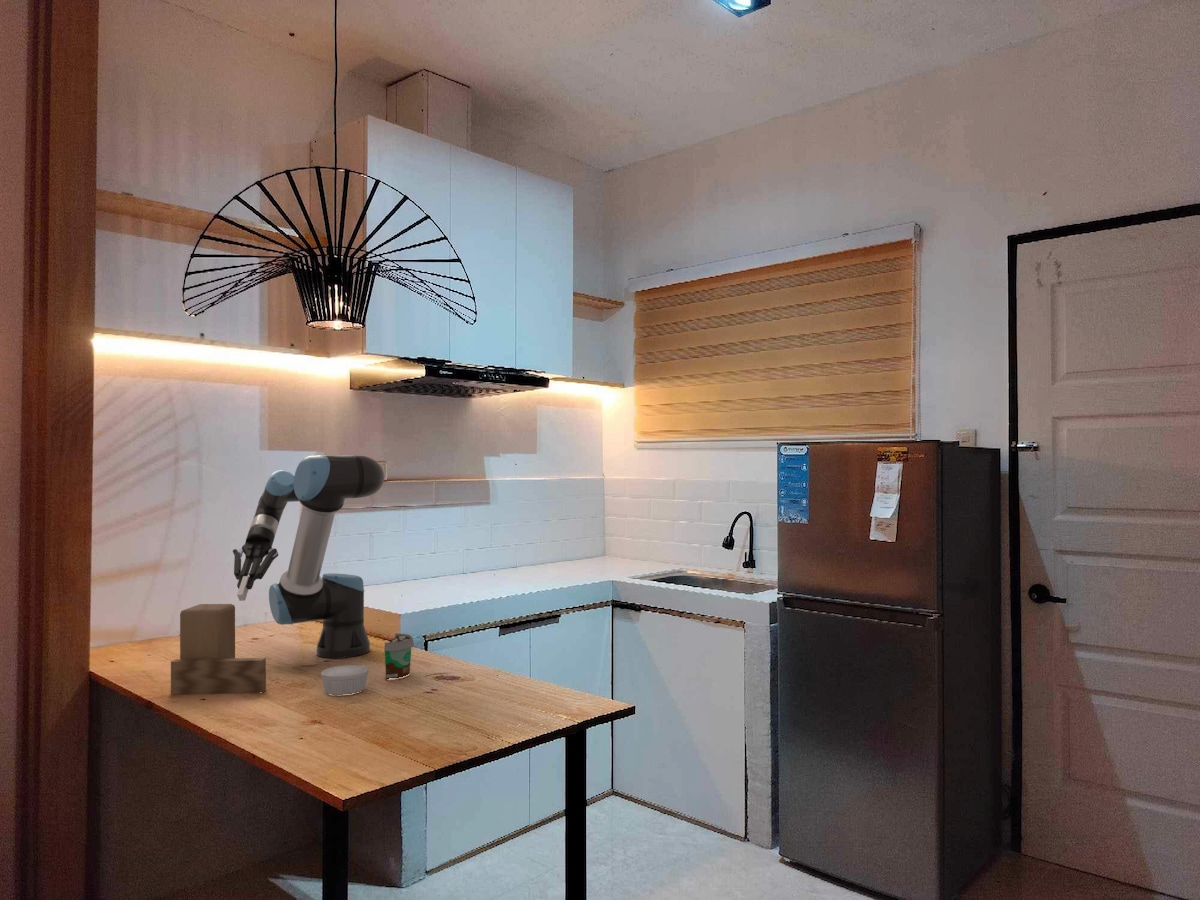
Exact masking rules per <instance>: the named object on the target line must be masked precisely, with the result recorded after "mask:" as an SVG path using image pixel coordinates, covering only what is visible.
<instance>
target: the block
mask: <svg viewBox="0 0 1200 900" xmlns="http://www.w3.org/2000/svg"><path fill="white" fill-rule="evenodd" d="M179 652H180V653H179V659H226V658H236V607H235V605H234V604H232V603H200V604H197V605H194V606H191V607H187V608H186V609H183V610H181V611H180V614H179Z"/></svg>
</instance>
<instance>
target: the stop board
mask: <svg viewBox="0 0 1200 900" xmlns="http://www.w3.org/2000/svg"><path fill="white" fill-rule="evenodd" d="M265 690H267V657H244V658H243V657H241V658H240V657H237V658H236V657H235V658H226V659H180V658H177V659H174V660H172V661H170V695H171V694H178V695H218V694H219V695H220V694H221V695H222V694H223V695H224V694H225V695H226V694H227V695H228V694H229V695H230V694H231V695H232V694H237V695H238V693H239V694H261V693H260V692H263V691H264V692H266V691H265ZM264 692H263V693H264Z"/></svg>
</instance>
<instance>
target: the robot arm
mask: <svg viewBox="0 0 1200 900" xmlns="http://www.w3.org/2000/svg"><path fill="white" fill-rule="evenodd" d="M384 482H385V472H384V470H383V468H382V466H381V465H380V464H379V462H377V461H376V460H375V459H373V458H372V457H370V456H367V455H360V454H358V455H357V454H354V455H347V454H346V455H325V454H318V455H309V456H306V457H304V458H302V459H301V460H300V462H298V463H297V467H296V470H295V472H294V474H293V473H292V472H290V471H286V470H283V469H279V470H275V471H274V472H273V473H271V474H270V476H269V478H268V480H267V481H266V484H265V487H264V490H263V492H262V494H261V496H260V498H259V500H258V504H257V506H256V509H255V513H254V516H253V519H252V521H251V525H250V526H249V530H248V533H247V536H246V538H245V542H244V544H243V545H242V546H241V548H239V549H237V548H236V549H235V548H234V549H233V550H232V553H233V555H234V562H233V565H234V566H233V575H234V577H235V579H236V580H237V584H236V587H237V588H238V590H237V594H236V597H237V599H238V601H240V602H241V601H243V602H245V601H246V598H247V596H248V593H249V590H252V589H253V587H254V582H256V580H262V579H264V576H265V575H266V573H267V571H268V570H269V568H270V567H271V566H272V565H271V564H273V562H274V560H275V559H276V558H277V557H279V552H278V549H277V548H273V543H274V541H275V538H276V536H277V535H276V534H277V531H278V529H279V525H280V521H281V518H282V516H283V513H284V510H285V509H286V507H287V505H288V503H290V502H291V503H293V502H299V504H301V506H302V508H301V513H300V515H299V516H300V517H299V522H298V525H297V529H296V534H295V537H294V538H295V539H294V543H293V547H292V552H291V557H290V560H289V564H288V569H287V570H286V571H284V572H283V573H282V574H281V576H280V579H279V583H273V584H271V585H270V587H269V589H268V602H269V607H270V613H271V615H272V618H273V620H274V622H275V623H277V624H278V625H281V626H282V625H284V626H285V625H293V624H300V623H309V622H314V621H317V622H318V621H322V629H321V632H320V635H319V638H318V642H317V644H316V656H318V657H320V658H329V659H343V658H342V657H345V658H352V657H351V656H353V657H357V656H356V655H359V656H362V655H361V654H363V655H365V654H364V653H366V654H368V653H369V652H370V651H371V643H370V639H369V636H368V633H367V631H366V628H365V619H364V618H365V617H364V615H365V613H364V612H365V589H364V579H363V578H362V577H361V576H359V575H355V574H347V573H332V572H330V573H323V574H322V577H321V576H320V574H321V571H322V567H323V565H324V564H323V562H324V560H325V554H326V551H327V547H328V544H329V538H330V536H331V532H332V531H331V530H332V527H333V523H334V519H335V515H336V513H337V512H339V511H341V510H342V508H343V507H344V504H345V500H346V499H360V498H366V497H370V496H372V495H374V494H376V493H378V492H379V490H380V489H381V488H382V487H383V485H384ZM243 554H244V555H245V557H244V562H243V564H242V557H243ZM368 651H369V652H368ZM367 652H368V653H367Z"/></svg>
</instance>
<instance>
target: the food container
mask: <svg viewBox="0 0 1200 900" xmlns="http://www.w3.org/2000/svg"><path fill="white" fill-rule="evenodd" d="M414 645H415V642H414V639H413V636H412V635H411V634H408V633H395V634H394V638H393V639H392V638H391V639H390V640H389V642H384V647H383V648H384V663H385V664H384V666H385V680H386V679H389V678H399V677H403V676H406V675H408V674H409V673H410V672H411V662H412V661H411V660H412V659H411V658H412V648H413V646H414Z"/></svg>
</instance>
